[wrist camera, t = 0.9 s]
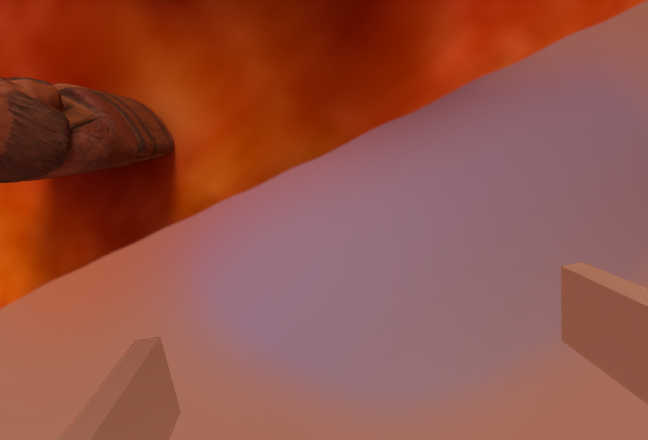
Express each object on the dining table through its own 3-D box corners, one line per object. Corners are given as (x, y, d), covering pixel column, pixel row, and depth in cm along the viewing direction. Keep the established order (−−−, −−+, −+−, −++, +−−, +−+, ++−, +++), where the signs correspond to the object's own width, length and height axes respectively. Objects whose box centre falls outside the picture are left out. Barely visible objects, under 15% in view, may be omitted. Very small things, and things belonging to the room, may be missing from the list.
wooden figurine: (170, 93, 35) (45, 41, 17) (182, 161, 36) (78, 177, 18) (40, 105, 34) (-230, 64, 16) (57, 174, 35) (-175, 204, 18)
